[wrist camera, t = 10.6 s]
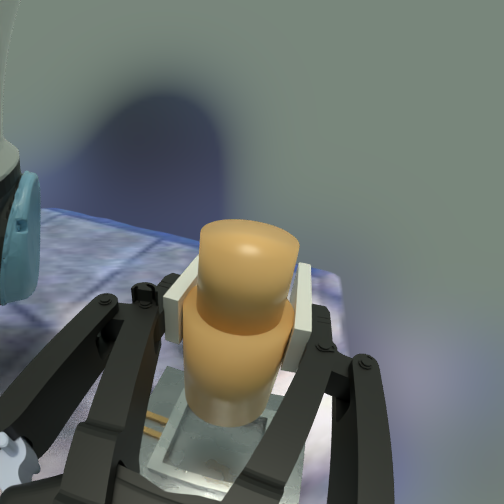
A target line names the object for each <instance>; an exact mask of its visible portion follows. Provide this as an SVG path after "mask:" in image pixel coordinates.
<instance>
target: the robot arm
mask: <svg viewBox="0 0 504 504" xmlns="http://www.w3.org/2000/svg"><path fill="white" fill-rule="evenodd" d="M20 1H21V0H0V305H2V306H5V305H6V304H7V303H11V302H15V301H20V300H24V299H27V298H28V297H30V296H31V295H32V294H33V292H34V291H35V289H36V286H37V282H38V276H39V262H40V184H39V181H38V176H37V174H35V173H30V172H29V171H26V172H24V174H21V170H20V161H19V151H18V149H17V148H16V147H15V146H14V145H12V144H11V143H9V142H8V141H7V140H5V138H4V137H3V93H4V79H5V71H6V63H7V55H8V50H9V44H10V39H11V35H12V30H13V26H14V22H15V18H16V14H17V10H18V7H19V4H20ZM198 262H199V255H198V256H197V257H196V258H195V259H194V260H193V262H192V263H191V264H190V265H189V266H188V267H187V269H186V270H185V271H184V272H183V273H182V274H181V275H179V274H175V273H171V274H169V275H167V276H165V277H164V278H163V279H162V280H161V282H160V283H159V284H158V286H156V285H154V284H152V283H148V282H142V283H137V284H135V285H133V287H132V288H131V292H132V302H133V303H132V304H126V303H118V298H117V297H116V296H115V295H113V294H109V293H104V294H100V295H98V296H96V297H95V298H94V299H93V300H92V301H91V302H90V303H89V304H88V305H87V306H85V307H84V308H83V309H82V310H81V311H80V312H79V313H78V314H77V315H76V316H75V317H74V318H73V319H72V320H71V321H70V322H69V323H68V324H67V325H66V326H65V327H64V328H63V329H62V330H61V331H60V332H59V333H58V334H57V335H56V336H55V337H54V338H53V339H52V340H51V341H50V342H49V343H48V344H47V345H46V346H45V347H44V348H43V349H42V350H41V352H40V353H39V354H38V355H37V356H36V357H35V358H34V359H33V360H32V361H31V362H30V363H29V365H28V366H27V367H26V368H25V369H24V370H23V371H22V372H21V373H20V375H19V376H18V377H17V378H16V379H15V380H14V381H13V383H12V384H11V385H10V386H9V387H8V388H7V390H6V391H5V392H4V393H3V394H2V396H1V397H0V489H1V490H2V492H3V493H2V494H1V496H0V504H279V502H280V500H281V498H282V496H283V493H284V488H285V485H286V483H287V481H288V479H289V477H290V475H291V473H292V471H293V469H294V466H295V464H296V462H297V460H298V458H299V455H300V453H301V451H302V448H303V446H304V444H305V441H306V439H307V437H308V434H309V432H310V429H311V427H312V424H313V422H314V419H315V416H316V414H317V411H318V408H319V406H320V403H321V400H322V397H323V394H324V393H326V394H328V395H331V396H332V438H331V460H330V475H329V487H328V498H327V504H394V478H393V462H392V451H391V442H390V432H389V425H388V417H387V410H386V404H385V397H384V392H383V385H382V380H381V375H380V369H379V365H378V363H377V361H376V360H375V359H374V358H373V357H371V356H370V355H366V354H357V355H355V356H354V357H353V358H350V357H347V356H345V355H343V354H341V353H340V352H338V351H337V347H336V345H335V344H334V343H333V341H332V329H331V320H330V312H329V311H328V309H327V308H326V306H321V305H316V304H312V297H311V265H309V264H305V263H299V264H298V268H297V272H296V276H295V280H294V284H293V288H292V292H291V296H290V303H291V305H292V307H293V309H294V322H293V327H292V331H291V334H290V337H289V340H288V343H287V346H286V350H285V353H284V356H283V359H282V364H281V370H284V371H289V372H295V373H296V374H295V376H294V378H293V380H292V382H291V384H290V386H289V388H288V390H287V392H286V394H285V396H284V398H283V400H282V402H281V404H280V406H279V408H278V410H277V412H276V413H275V415H274V417H273V419H272V421H271V423H270V425H269V426H268V428H267V430H266V432H265V434H264V435H263V437H262V439H261V441H260V442H259V444H258V446H257V447H256V449H255V451H254V453H253V454H252V456H251V458H250V459H249V461H248V462H247V464H246V466H245V467H244V469H243V470H242V472H241V473H240V474H239V476H238V477H237V478H236V480H235V481H234V483H233V484H232V486H231V488H230V489H229V490H228V492H227V493H226V495H225V496H224V498H223V499H222V501H218V500H214V499H210V498H207V497H203V496H199V495H190V494H180V493H172V492H167V491H164V490H162V489H161V488H159V487H158V486H156V485H155V484H153V483H152V482H150V481H149V480H147V479H146V478H145V477H143V476H142V475H140V464H139V455H140V448H141V442H142V436H143V430H144V424H145V419H146V413H147V408H148V403H149V398H150V393H151V388H152V383H153V379H154V374H155V370H156V365H157V361H158V356H159V352H160V348H161V337H162V336H163V334H164V333H165V340H167V341H170V342H173V343H176V344H179V343H180V342H181V340H182V338H183V301H184V299H185V297H186V296H187V295H188V293H189V292H190V290H191V289H192V288H193V287H194V286H196V285H197V279H198ZM104 368H105V369H104ZM297 369H298V370H297ZM103 370H104V372H103V374H102V377H101V380H100V382H99V385H98V388H97V391H96V394H95V396H94V399H93V402H92V405H91V408H90V411H89V414H88V418H87V420H86V421H85V422H80V423H79V424H78V425H77V428H76V430H75V433H74V436H73V440H72V443H71V447H70V450H69V454H68V457H67V461H66V465H65V469H64V473H63V474H60V475H57V476H53V477H49V478H45V479H41V480H37V481H32V476H33V474H38V473H39V472H40V465H39V463H38V459H39V458H40V457H41V456H42V455H43V454H44V453H45V452H46V451H47V450H48V449H49V448H50V446H51V445H52V444H53V442H54V441H55V439H56V438H57V436H58V435H59V433H60V432H61V430H62V429H63V427H64V426H65V424H66V423H67V421H68V420H69V418H70V417H71V415H72V414H73V412H74V411H75V409H76V408H77V406H78V405H79V404H80V402H81V401H82V399H83V398H84V396H85V395H86V394H87V392H88V391H89V389H90V388H91V386H92V385H93V384H94V382H95V381H96V380H97V378H98V377H99V375H100V374H101V373H102V371H103ZM296 371H297V372H296Z"/></svg>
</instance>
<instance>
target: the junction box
mask: <svg viewBox="0 0 504 504" xmlns="http://www.w3.org/2000/svg"><path fill="white" fill-rule="evenodd" d="M283 398H284V396H280V395H275V394H270V397H269V400H268V403H267V405H266V408H265V410H264V411H263V413H262V414H261V415H260V416H259V417H258V418H257V419H256V420H254V421H253V422H251V423H249V424H246V425H243V426H239V427H220V426H215V425H212V424H210V423H207V422H205V421H204V420H202V419H200V418H199V417H198V416H197V415H195V413H194V412H193V411H192V410H191V409H190V407H189V405H188V403H187V401H186V397H185V384H184V371H181V370H178V369H175V368H172V367H169V366H167V367H166V369H165V371H164V373H163V374H162V376H161V378H160V380H159V381H158V383H157V385H156V387H155V389H154V390H153V392H152V394H151V396H150V398H149V403H148V408H147V413H146V419H145V424H144V430H143V436H142V442H141V448H140V455H139V464H140V475H142V476H143V477H145V478H146V479H147V480H149V481H150V482H152V483H153V484H155V485H156V486H158V487H159V488H161V489H162V490H164V491H167V492H172V493H180V494H190V495H199V496H203V497H207V498H210V499H214V500H218V501H222V499H223V498H224V496H225V495H226V493H227V492H228V490H229V489H230V488H231V486H232V484H233V483H234V481H235V480H236V478H237V477H238V476H239V474H240V473H241V472H242V470H243V469H244V467H245V466H246V464H247V462H248V461H249V459H250V458H251V456H252V454H253V453H254V451H255V449H256V447H257V446H258V444H259V442H260V441H261V439H262V437H263V435H264V434H265V432H266V430H267V428H268V426H269V425H270V423H271V421H272V419H273V417H274V415H275V413H276V412H277V410H278V408H279V406H280V404H281V402H282V400H283ZM304 450H305V444H304V446H303V448H302V451H301V453H300V455H299V458H298V460H297V462H296V464H295V466H294V469H293V471H292V473H291V475H290V477H289V479H288V481H287V483H286V485H285V488H284V493H283V496H282V498H281V500H280V502H279V504H298V503H299V495H300V488H301V479H302V470H303V461H304Z"/></svg>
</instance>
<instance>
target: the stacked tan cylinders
mask: <svg viewBox="0 0 504 504" xmlns="http://www.w3.org/2000/svg"><path fill="white" fill-rule="evenodd" d="M298 251H299V242H298V240H297V239H296V238H295V237H294V236H292V235H291V234H290V233H288V232H287V231H284V230H283V229H280V228H278V227H275V226H272V225H269V224H265V223H261V222H256V221H250V220H239V219H230V220H219V221H215V222H212V223H209V224H207V225H205V226H204V227H203V228H202V229H201V234H200V247H199V262H198V279H197V285H196V286H194V287H193V288H192V289H191V290H190V292H189V293H188V295H187V296H186V297H185V299H184V301H183V358H184V384H185V397H186V401H187V403H188V405H189V407H190V409H191V410H192V411H193V412H194V413H195V415H197V416H198V417H199V418H200V419H202V420H204V421H205V422H207V423H210V424H212V425H215V426H220V427H239V426H243V425H246V424H249V423H251V422H253V421H254V420H256V419H257V418H258V417H259V416H260V415H261V414H262V413H263V411H264V410H265V408H266V405H267V403H268V400H269V397H270V394H271V392H272V389H273V386H274V383H275V380H276V377H277V374H278V371H279V368H280V365H281V362H282V359H283V356H284V353H285V350H286V346H287V343H288V340H289V337H290V334H291V331H292V327H293V322H294V309H293V307H292V305H291V303H290V302H289V301H288V299H287V296H288V292H289V288H290V284H291V280H292V276H293V272H294V268H295V264H296V259H297V255H298Z"/></svg>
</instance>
